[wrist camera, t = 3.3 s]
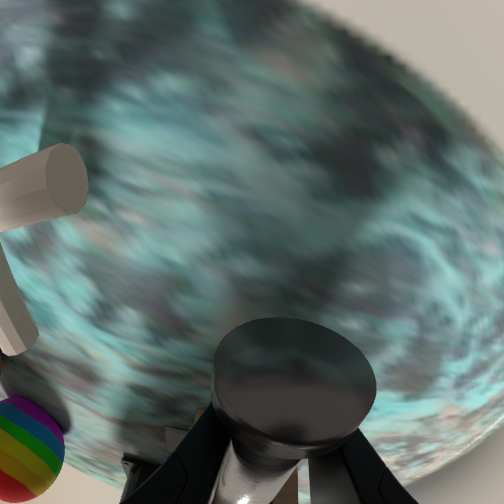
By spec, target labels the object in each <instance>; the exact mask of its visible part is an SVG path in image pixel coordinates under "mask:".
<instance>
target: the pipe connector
mask: <svg viewBox="0 0 504 504" xmlns="http://www.w3.org/2000/svg"><path fill="white" fill-rule="evenodd" d="M88 188H89V186H88V176H87V169H86V166H85V164H84V161H83V159H82V156H81V154H80V153H79V152H78V151H77V150H76V149H75V148H74V147H73V146H72V145H71V144H66V143H58V144H56V145H53V146H51V147H48V148H46V149H43V150H41V151H38V152H36V153H34V154H31V155H29V156H27V157H24V158H22V159H20V160H18V161H15V162H13V163H11V164H9V165H7V166H5V167H3V168H1V169H0V233H1V232H4V231H8V230H12V229H15V228H19V227H23V226H27V225H31V224H34V223H38V222H42V221H46V220H51V219H55V218H59V217H63V216H67V215H72V214H76V213H78V212H79V211H80V210H81V208H82V207H83V206H84V204H85V203H86V198H87V193H88ZM38 336H39V331H38V328H37V326H36V324H35V322H34V320H33V318H32V316H31V314H30V312H29V310H28V308H27V306H26V304H25V302H24V300H23V298H22V295H21V293H20V291H19V289H18V286H17V284H16V282H15V279H14V277H13V275H12V272H11V270H10V267H9V265H8V262H7V260H6V257H5V254H4V252H3V249H2V246H1V243H0V348H1V350H2V351H3V353H4V354H6V355H8V356H12V355H18V354H20V353H22V352H24V351H26V350H27V349H28V348H30V347H31V346H32V345H33V344H34V343H35V342H36V340H37V338H38Z"/></svg>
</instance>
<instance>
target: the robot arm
mask: <svg viewBox="0 0 504 504" xmlns="http://www.w3.org/2000/svg"><path fill="white" fill-rule="evenodd" d="M231 438H232V434H231V433H230V432H229V431H228V430H227V429H226V428H225V426H224V425H223V424H222V423H221V421H220V419H219V418H218V416H217V414H216V412H215V410H214V407H213V404H212V400H211V402H210V403H209V404H208V406H207V407H206V408H205V410H204V411H203V412H202V414H201V415H200V416H199V418H198V419H197V420H196V422H195V423H194V424H193V426H192V427H191V428H190V430H189V431H188V432H187V434H186V435H185V436H184V437H183V439H182V440H181V441H180V443H179V444H178V445H177V446H176V448H175V449H174V451H172V453H171V454H170V455H169V456H168V458H167V459H166V460H165V461H164V462H163V464H162V465H161V466H160V467H158V466H154V465H150V464H146V463H143V462H139V461H136V460H133V459H129V458H126V457H122V460H121V463H122V466H123V468H124V471H125V473H126V476H127V481H126V484H125V487H124V490H123V493H122V496H121V500H120V503H119V504H212V501H213V497H214V494H215V491H216V488H217V485H218V482H219V479H220V475H221V472H222V469H223V466H224V462H225V459H226V456H227V453H228V449H229V446H230V442H231ZM308 465H309V480H310V497H311V504H419V503H418V502H417V501H416V500H415V499H414V498H413V497H412V496H411V495H410V494H409V493H408V492H407V491H406V490H405V488H404V487H403V486H402V485H401V484H400V483H399V481H398V480H397V479H396V478H395V476H394V475H393V474H392V472H391V471H390V470H389V468H388V467H386V465H385V463H384V462H383V460H382V459H381V458H380V456H379V455H378V454H377V452H376V451H375V450H374V448H373V447H372V446H371V444H370V443H369V441H368V440H367V439H366V437H365V436H364V435H363V433H362V432H361V431H360V429H359V428H357V429H356V431H355V432H354V434H353V435H352V436H351V437H350V438H349V439H348V441H347V442H345V443H344V444H343V445H342V446H341V447H339V448H337V449H336V450H334V451H332V452H330V453H327V454H325V455H322V456H318V457H315V458H308Z"/></svg>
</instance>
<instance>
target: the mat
mask: <svg viewBox="0 0 504 504" xmlns="http://www.w3.org/2000/svg"><path fill="white" fill-rule="evenodd" d="M187 432H188V431H184V430H180V429H175V428H171V427H167V426H166V428H165V437H166V449H167V452H171V453H172V451H174V449H175V448H176V446H177V445H178V444H179V443H180V441H181V440H182V439H183V437H184V436H185V435H186V434H187ZM306 460H307V459H301V461H300V462H299V464H298V465H297V468H298V470H300V468H301V467H302V465H303V464H304V463H305V461H306Z"/></svg>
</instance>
